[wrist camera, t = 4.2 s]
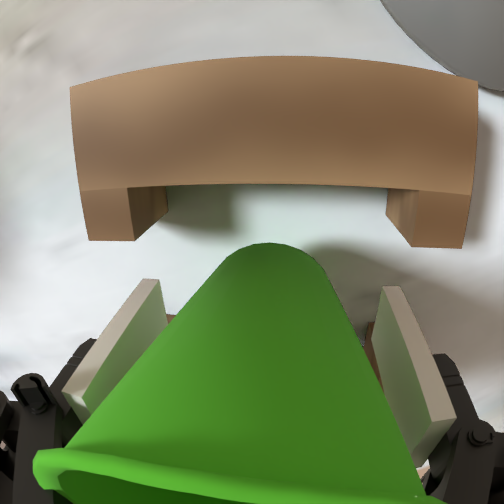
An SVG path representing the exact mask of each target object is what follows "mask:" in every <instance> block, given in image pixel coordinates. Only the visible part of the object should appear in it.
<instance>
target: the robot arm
mask: <svg viewBox="0 0 504 504" xmlns="http://www.w3.org/2000/svg"><path fill="white" fill-rule="evenodd" d="M167 325H168V321H167V316H166V312H165V307H164V302H163V297H162V292H161V286H160V281H159V279H142V281H141V282H140V283H139V284H138V286H137V287H136V288H135V290H134V291H133V292H132V293H131V295H130V296H129V297H128V299H127V300H126V301H125V303H124V304H123V305H122V307H121V308H120V309H119V311H118V312H117V313H116V315H115V316H114V317H113V319H112V320H111V321H110V323H109V324H108V325H107V327H106V328H105V329H104V331H103V332H102V334H101V335H100V336H99V338H98V339H92V338H90V339H88V340H87V341H86V342H84V343H83V344H81V345H80V346H79V347H78V349H77V350H76V351H75V353H74V354H73V357H71V358H70V359H69V361H68V362H67V365H65V366H64V368H63V369H62V370H61V372H60V373H59V375H58V376H57V377H56V379H55V380H54V382H53V383H52V384H51V386H50V387H48V385H47V383H46V381H45V380H44V378H43V377H42V376H41V375H39V374H36V373H29V374H26V375H23V376H21V377H20V378H18V379H17V380H16V381H15V382H14V383H13V385H12V387H11V391H12V392H13V394H14V395H15V397H16V398H17V400H18V401H9V400H8V398H7V397H6V395H5V394H4V393H3V392H2V391H0V444H1V441H3V442H4V443H5V444H6V446H5V448H4V449H1V448H0V504H73V503H72V502H71V501H69V500H68V499H67V498H65V497H64V496H62V495H61V494H59V493H58V492H56V491H55V490H53V489H43V488H42V487H41V486H40V485H39V483H38V481H37V480H36V478H35V476H34V474H33V459H34V457H35V455H36V453H37V452H38V450H46V449H55V448H65V446H66V445H67V444H68V443H69V442H70V440H71V439H72V438H73V437H74V435H75V434H76V433H77V432H78V431H79V429H80V428H81V427H82V426H83V425H84V423H85V422H86V421H87V420H88V419H89V417H90V416H91V415H92V414H93V413H94V411H95V410H96V409H97V408H98V407H99V405H100V404H101V403H102V402H103V401H104V399H105V398H106V397H107V396H108V395H109V393H110V392H111V391H112V390H113V389H114V388H115V386H116V385H117V384H118V383H119V382H120V380H121V379H122V378H123V377H124V376H125V374H126V373H127V372H128V371H129V370H130V369H131V367H132V366H133V365H134V364H135V363H136V362H137V360H138V359H139V358H140V357H141V356H142V354H143V353H144V352H145V351H146V350H147V349H148V347H149V346H150V345H151V344H152V343H153V342H154V340H155V339H156V338H157V337H158V336H159V335H160V333H161V332H162V331H163V330H164V329H165V328H166V326H167ZM371 341H372V344H373V348H374V352H375V356H376V360H377V364H378V368H379V372H380V376H381V381H382V385H383V389H384V394H385V397H386V399H387V402H388V404H389V406H390V408H391V411H392V413H393V415H394V417H395V420H396V422H397V424H398V427H399V429H400V431H401V434H402V436H403V438H404V441H405V443H406V446H407V448H408V450H409V453H410V455H411V458H412V460H413V463H414V465H415V468H418V467H422V465H423V464H424V463H425V462H426V460H427V459H428V460H429V465H430V469H429V470H428V471H427V472H426V473H425V474H424V476H423V477H422V478H421V479H420V480H421V483H423V484H422V485H423V488H424V491H425V493H426V496H433V497H435V498H437V499H439V500H441V501H443V502H445V503H447V504H504V433H500V432H495V430H494V428H493V427H492V426H491V425H490V424H489V423H488V422H485V421H483V420H479V418H478V416H477V413H476V411H475V408H474V406H473V403H472V401H471V399H470V396H469V394H468V392H467V389H466V387H465V385H464V382H463V380H462V378H461V376H460V374H459V371H458V369H457V367H456V365H455V363H454V362H453V361H452V360H451V359H450V358H449V357H448V356H447V355H446V354H434V355H432V353H431V351H430V349H429V346H428V344H427V342H426V340H425V337H424V335H423V333H422V331H421V329H420V327H419V324H418V322H417V320H416V318H415V316H414V314H413V312H412V310H411V308H410V306H409V304H408V301H407V299H406V297H405V295H404V293H403V291H402V289H401V288H400V286H382V291H381V296H380V301H379V306H378V311H377V315H376V320H375V324H374V329H373V333H372V337H371Z"/></svg>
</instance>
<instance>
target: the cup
mask: <svg viewBox="0 0 504 504" xmlns="http://www.w3.org/2000/svg"><path fill="white" fill-rule="evenodd" d="M33 474H34V476H35V478H36V480H37V481H38V483H39V485H40V486H41V487H42V488H43V489H53V490H55V491H56V492H58V493H59V494H61V495H62V496H64V497H65V498H67V499H68V500H69V501H71V502H72V503H73V504H447V503H445V502H443V501H441V500H439V499H437V498H435V497H433V496H426V493H425V491H424V488H423V485H422V483H421V480H420V478H419V475H418V473H417V470H416V468H415V465H414V463H413V460H412V458H411V455H410V453H409V450H408V448H407V446H406V443H405V441H404V438H403V436H402V434H401V431H400V429H399V427H398V424H397V422H396V420H395V417H394V415H393V413H392V411H391V408H390V406H389V404H388V402H387V399H386V397H385V395H384V393H383V390H382V388H381V386H380V384H379V382H378V379H377V377H376V375H375V373H374V371H373V369H372V367H371V364H370V362H369V360H368V358H367V356H366V354H365V352H364V350H363V347H362V345H361V343H360V341H359V339H358V337H357V335H356V333H355V331H354V329H353V327H352V325H351V323H350V321H349V319H348V317H347V315H346V313H345V311H344V309H343V307H342V305H341V303H340V301H339V299H338V297H337V295H336V293H335V291H334V289H333V287H332V285H331V283H330V281H329V279H328V277H327V275H326V273H325V271H324V270H323V268H322V267H321V266H320V265H319V264H318V263H317V262H316V261H315V259H314V258H312V257H311V256H309V255H308V254H306V253H305V252H303V251H302V250H299V249H297V248H294V247H291V246H288V245H285V244H277V243H260V244H253V245H250V246H247V247H244V248H241V249H239V250H237V251H236V252H234V253H232V254H231V255H229V256H228V257H227V258H226V259H225V260H224V261H223V262H222V263H221V264H220V265H219V266H218V268H217V269H216V270H215V271H214V272H213V273H212V274H211V276H210V277H209V278H208V279H207V280H206V281H205V283H204V284H203V285H202V286H201V287H200V288H199V289H198V291H197V292H196V293H195V294H194V295H193V296H192V297H191V299H190V300H189V301H188V302H187V303H186V304H185V306H184V307H183V308H182V309H181V310H180V311H179V312H178V314H177V315H176V316H175V317H174V318H173V319H172V321H171V322H170V323H169V324H168V325H167V326H166V328H165V329H164V330H163V331H162V332H161V333H160V335H159V336H158V337H157V338H156V339H155V340H154V342H153V343H152V344H151V345H150V346H149V347H148V349H147V350H146V351H145V352H144V353H143V354H142V356H141V357H140V358H139V359H138V360H137V362H136V363H135V364H134V365H133V366H132V367H131V369H130V370H129V371H128V372H127V373H126V374H125V376H124V377H123V378H122V379H121V380H120V382H119V383H118V384H117V385H116V386H115V388H114V389H113V390H112V391H111V392H110V393H109V395H108V396H107V397H106V398H105V399H104V401H103V402H102V403H101V404H100V405H99V407H98V408H97V409H96V410H95V411H94V413H93V414H92V415H91V416H90V417H89V419H88V420H87V421H86V422H85V423H84V425H83V426H82V427H81V428H80V429H79V431H78V432H77V433H76V434H75V435H74V437H73V438H72V439H71V440H70V442H69V443H68V444H67V445H66V446H65V448H55V449H46V450H38V452H37V453H36V455H35V457H34V459H33Z"/></svg>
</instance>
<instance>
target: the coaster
mask: <svg viewBox="0 0 504 504" xmlns="http://www.w3.org/2000/svg"><path fill="white" fill-rule="evenodd" d="M380 1H381V2H382V4H383V5H384V7H385V8H386V10H387V11H388V12H389V14H390V15H391V16H392V18H393V19H394V20H395V22H396V23H397V24H398V25H399V26H400V27H401V28H402V30H403V31H404V32H405V33H406V34H407V35H408V36H409V37H410V38H411V39H412V40H413V41H414V42H415V43H416V44H417V45H418V46H419V47H420V48H421V49H422V50H423V51H424V52H426V53H427V54H428V55H429V56H430V57H431V58H433V59H434V60H435V61H437V62H438V63H439V64H441V65H442V66H443V67H445V68H446V69H448V70H449V71H451V72H453V73H454V74H456V75H457V76H459V77H463V78H467V79H471V80H475V81H478V86H481V87H484V88H488V89H492V90H497V91H504V0H380Z"/></svg>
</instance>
